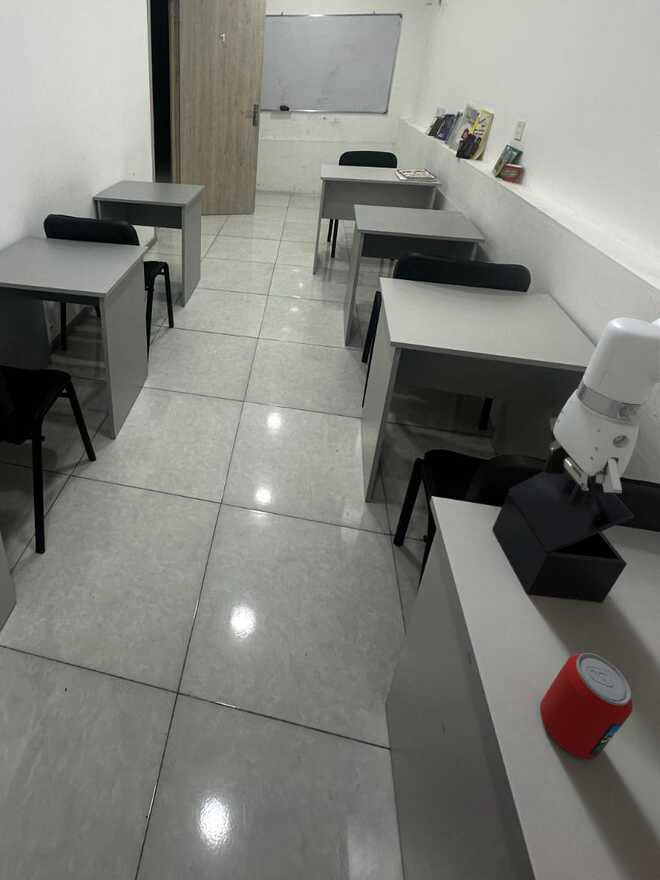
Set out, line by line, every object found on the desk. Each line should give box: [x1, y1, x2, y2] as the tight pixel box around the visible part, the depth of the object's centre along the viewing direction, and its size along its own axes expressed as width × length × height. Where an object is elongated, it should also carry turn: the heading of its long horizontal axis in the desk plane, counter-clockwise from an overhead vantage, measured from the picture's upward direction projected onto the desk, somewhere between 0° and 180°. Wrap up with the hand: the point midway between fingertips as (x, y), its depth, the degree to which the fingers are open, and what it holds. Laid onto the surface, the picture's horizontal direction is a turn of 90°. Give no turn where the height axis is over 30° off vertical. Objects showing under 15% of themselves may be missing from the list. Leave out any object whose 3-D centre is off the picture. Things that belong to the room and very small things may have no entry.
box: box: [491, 492, 627, 604], centre depth 83 cm, size 12×12×10 cm
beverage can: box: [539, 652, 633, 760], centre depth 61 cm, size 7×7×12 cm
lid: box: [507, 457, 635, 554], centre depth 79 cm, size 13×12×6 cm
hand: (565, 487), depth 78 cm, fingers closed on lid, 6 cm apart
